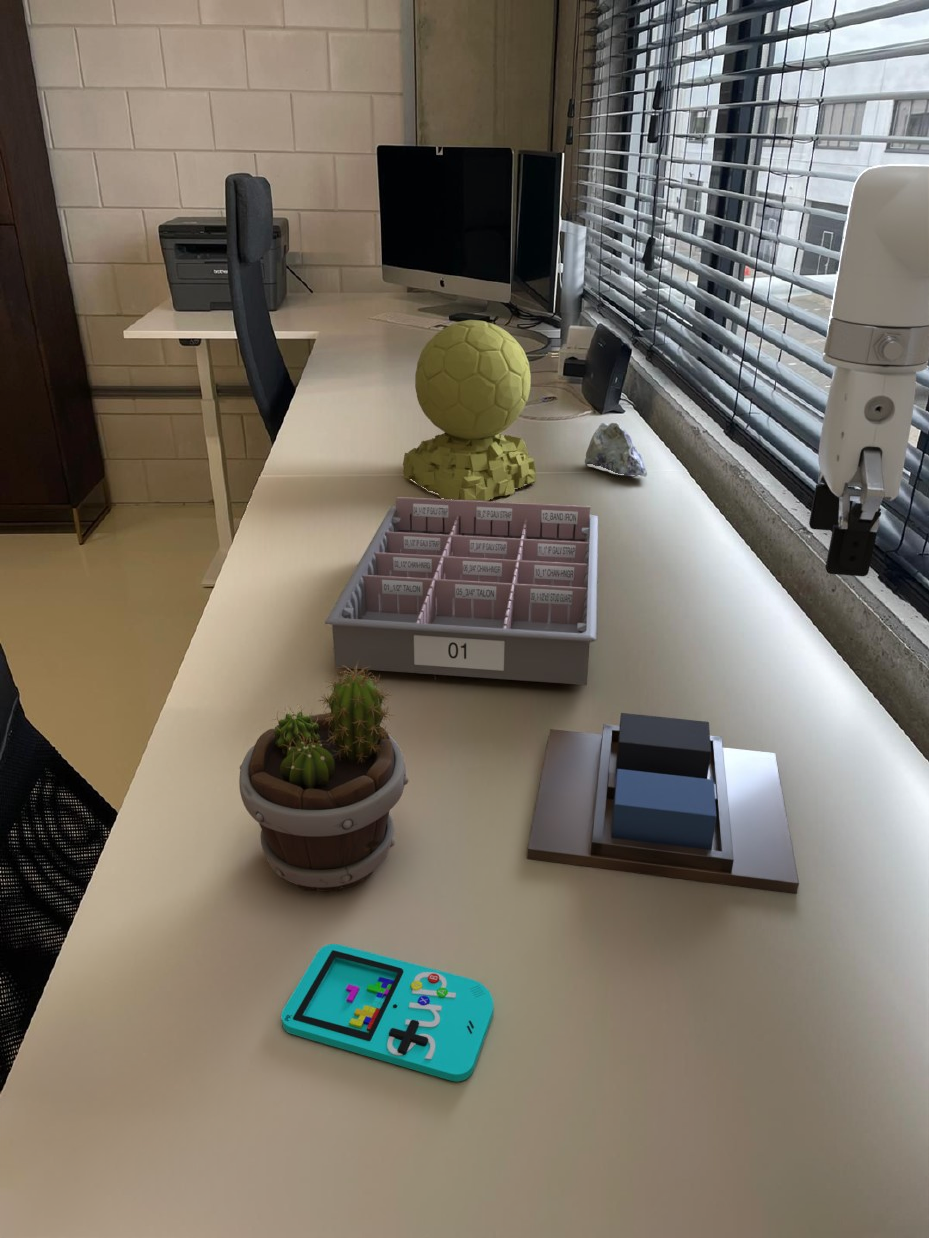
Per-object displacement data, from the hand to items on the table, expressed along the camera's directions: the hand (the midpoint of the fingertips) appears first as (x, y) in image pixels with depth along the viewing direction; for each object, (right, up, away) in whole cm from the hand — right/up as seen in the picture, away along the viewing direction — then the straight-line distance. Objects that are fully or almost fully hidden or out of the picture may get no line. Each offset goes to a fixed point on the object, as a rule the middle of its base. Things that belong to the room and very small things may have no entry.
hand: (836, 550), depth 80 cm
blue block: (-13, -26, +9) cm, 30 cm away
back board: (-12, -25, +14) cm, 31 cm away
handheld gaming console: (-37, -36, -8) cm, 52 cm away
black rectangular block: (-11, -21, +18) cm, 30 cm away
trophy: (-30, +20, +101) cm, 108 cm away
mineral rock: (-2, +22, +106) cm, 108 cm away
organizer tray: (-30, -5, +51) cm, 60 cm away
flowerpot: (-44, -28, +8) cm, 53 cm away
